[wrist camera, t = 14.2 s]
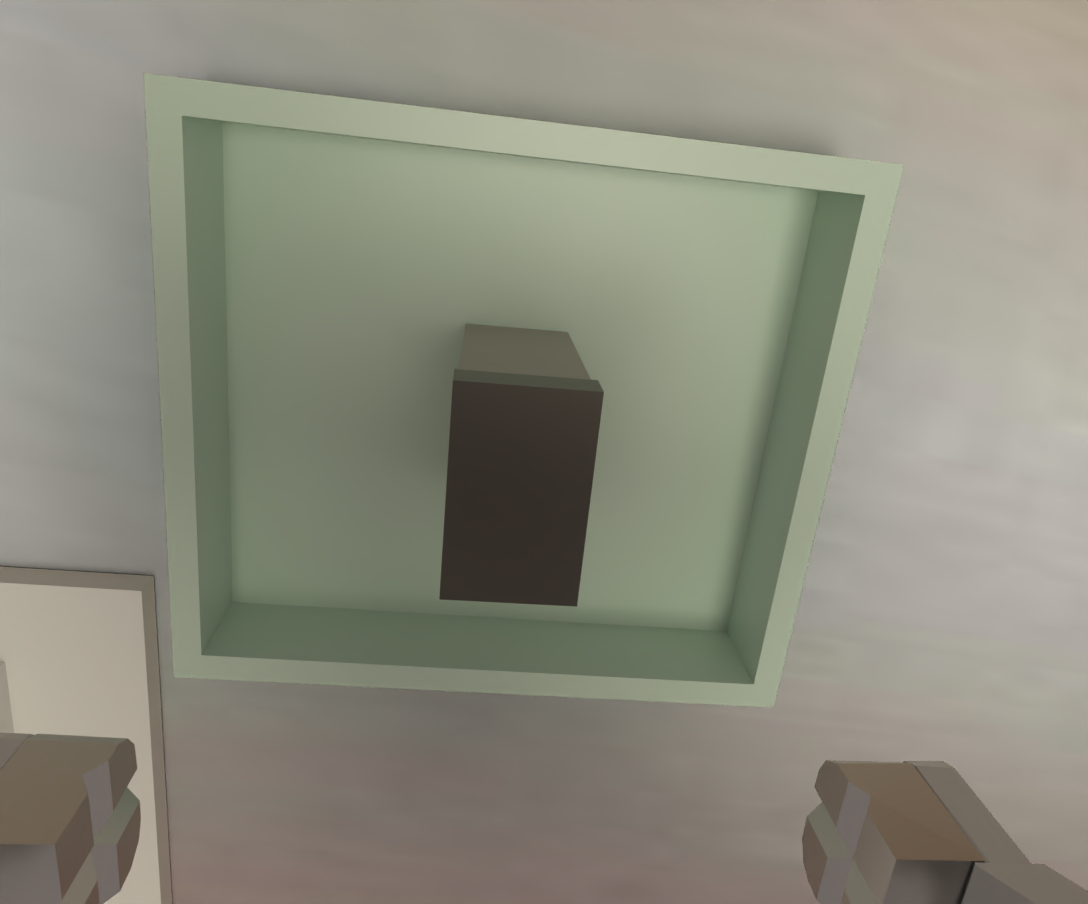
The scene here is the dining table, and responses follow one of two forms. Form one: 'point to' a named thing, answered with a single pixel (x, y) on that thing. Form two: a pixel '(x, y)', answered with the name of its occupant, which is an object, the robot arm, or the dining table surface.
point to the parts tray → (435, 352)
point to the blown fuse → (519, 468)
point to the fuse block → (91, 686)
